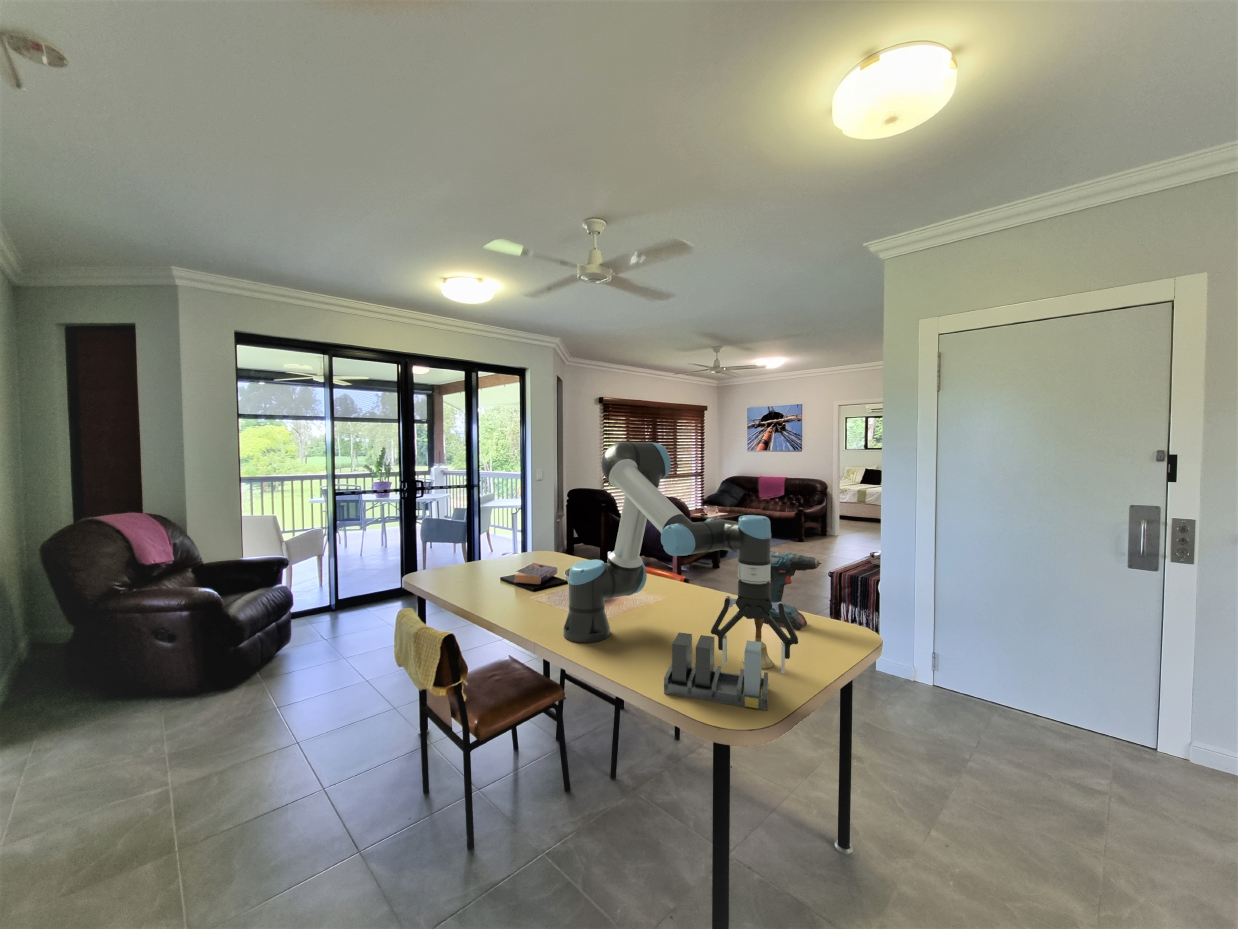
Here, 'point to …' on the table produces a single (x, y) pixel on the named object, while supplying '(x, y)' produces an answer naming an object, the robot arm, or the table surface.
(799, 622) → the power drill
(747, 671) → the pale blue block
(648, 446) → the robot arm
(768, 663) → the hand bell
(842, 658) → the table surface
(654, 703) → the table surface
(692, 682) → the rack
